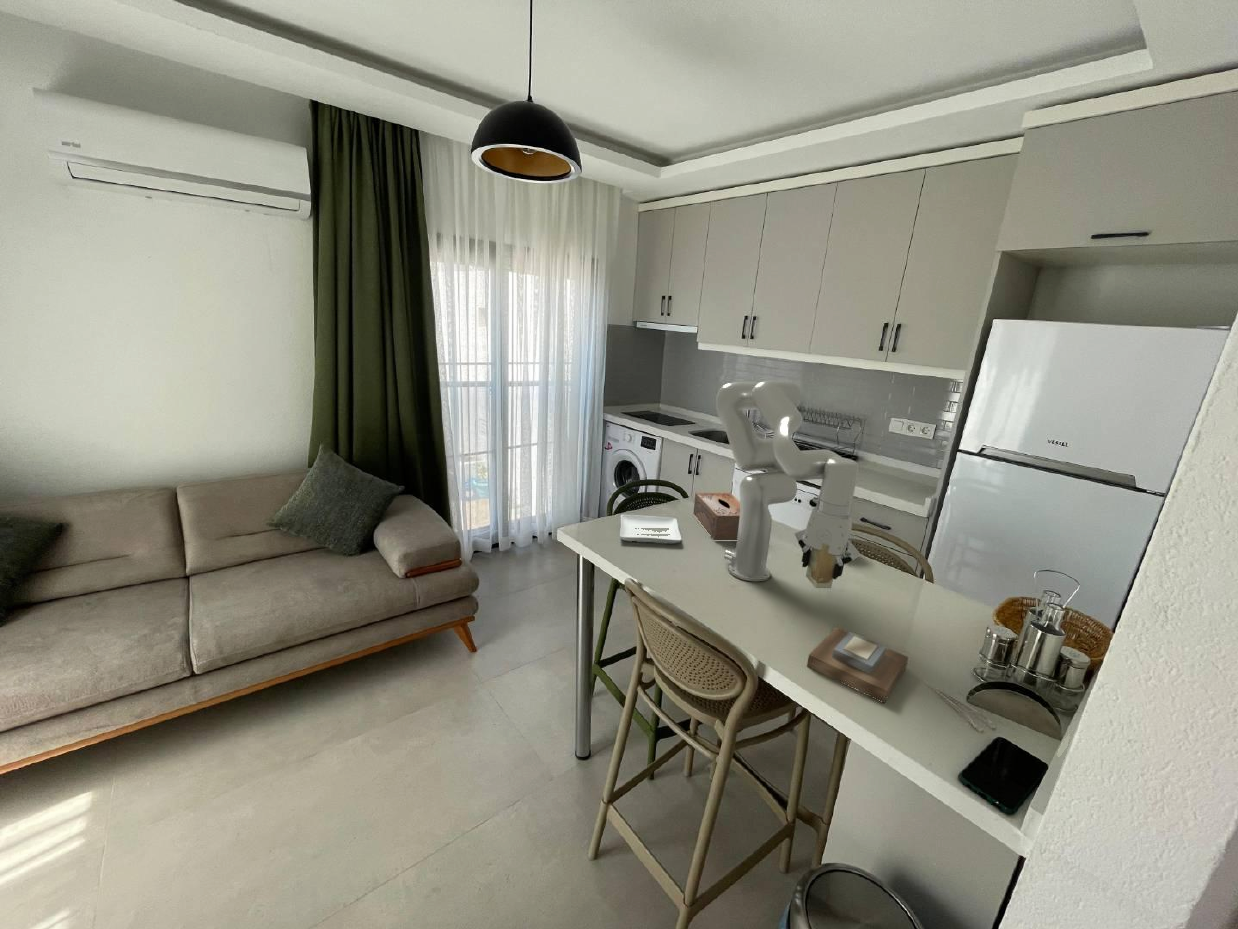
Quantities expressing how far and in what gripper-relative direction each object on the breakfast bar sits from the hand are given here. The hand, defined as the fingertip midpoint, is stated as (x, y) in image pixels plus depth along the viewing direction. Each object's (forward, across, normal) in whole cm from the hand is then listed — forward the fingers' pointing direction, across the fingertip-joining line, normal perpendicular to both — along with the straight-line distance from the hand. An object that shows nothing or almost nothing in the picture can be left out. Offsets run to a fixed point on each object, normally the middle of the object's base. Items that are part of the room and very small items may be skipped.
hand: (820, 571), depth 130 cm
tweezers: (+12, +33, -11) cm, 37 cm away
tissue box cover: (+16, -50, +36) cm, 63 cm away
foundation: (+12, +16, -14) cm, 25 cm away
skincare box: (+4, 0, 0) cm, 4 cm away
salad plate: (+16, -64, +10) cm, 66 cm away
